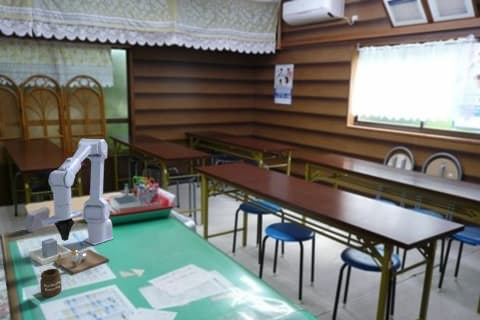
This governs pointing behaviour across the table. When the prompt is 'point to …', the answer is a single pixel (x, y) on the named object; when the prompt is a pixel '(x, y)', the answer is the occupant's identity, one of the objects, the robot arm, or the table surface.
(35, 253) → the tray
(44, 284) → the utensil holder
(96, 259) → the crank base
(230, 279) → the table surface
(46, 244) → the block
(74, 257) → the crank
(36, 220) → the stone block
